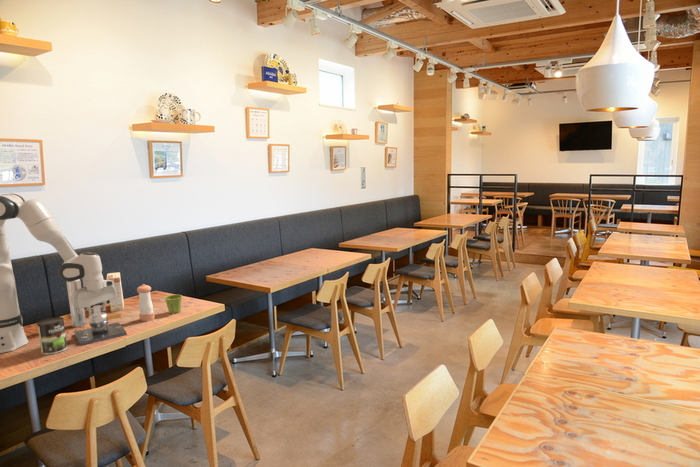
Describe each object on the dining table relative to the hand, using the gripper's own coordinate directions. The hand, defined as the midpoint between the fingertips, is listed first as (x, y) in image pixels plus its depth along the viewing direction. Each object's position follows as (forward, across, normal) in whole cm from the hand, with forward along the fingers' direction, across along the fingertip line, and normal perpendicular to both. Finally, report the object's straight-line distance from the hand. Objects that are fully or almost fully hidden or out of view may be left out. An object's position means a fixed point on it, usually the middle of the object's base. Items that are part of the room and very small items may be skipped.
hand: (97, 312), depth 233 cm
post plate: (+11, 0, 0) cm, 11 cm away
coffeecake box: (+12, +33, +33) cm, 48 cm away
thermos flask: (+11, +4, +24) cm, 27 cm away
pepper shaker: (+11, +25, -3) cm, 28 cm away
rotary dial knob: (+6, +2, -2) cm, 7 cm away
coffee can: (+11, -22, +1) cm, 24 cm away
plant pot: (+12, +40, -7) cm, 42 cm away
